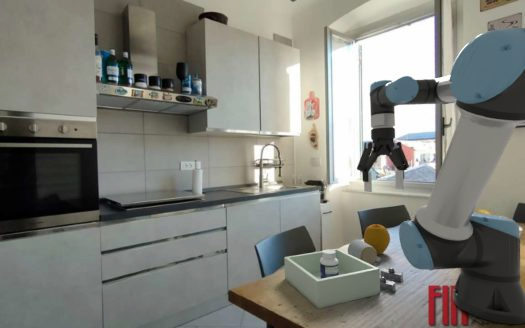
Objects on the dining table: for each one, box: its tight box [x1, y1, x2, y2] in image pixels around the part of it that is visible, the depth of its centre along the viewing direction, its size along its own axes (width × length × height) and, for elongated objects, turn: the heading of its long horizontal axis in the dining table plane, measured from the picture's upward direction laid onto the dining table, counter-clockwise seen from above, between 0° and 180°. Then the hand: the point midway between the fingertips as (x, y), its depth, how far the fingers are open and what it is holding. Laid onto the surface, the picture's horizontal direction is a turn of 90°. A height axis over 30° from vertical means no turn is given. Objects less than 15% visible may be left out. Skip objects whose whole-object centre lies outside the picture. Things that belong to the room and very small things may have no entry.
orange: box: [363, 223, 391, 256], centre depth 113 cm, size 10×10×12 cm
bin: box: [283, 248, 381, 310], centre depth 86 cm, size 20×20×7 cm
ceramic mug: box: [347, 238, 382, 265], centre depth 104 cm, size 11×8×8 cm
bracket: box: [380, 267, 404, 293], centre depth 87 cm, size 11×6×3 cm, turn 140°
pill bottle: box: [320, 249, 339, 279], centre depth 86 cm, size 5×5×10 cm
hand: (384, 190), depth 98 cm, fingers open, 13 cm apart
